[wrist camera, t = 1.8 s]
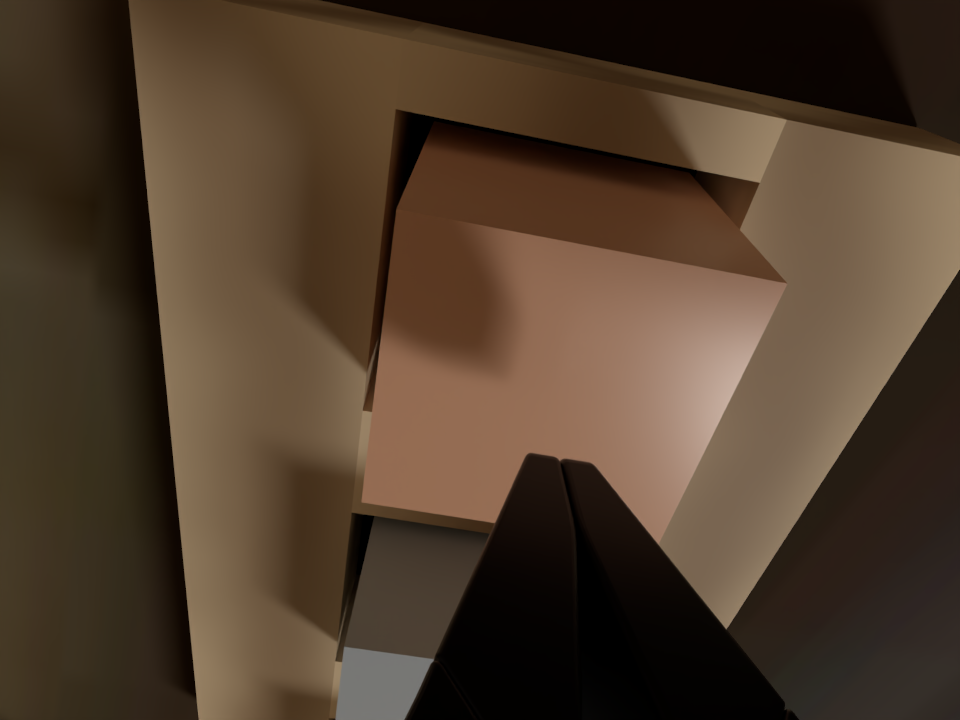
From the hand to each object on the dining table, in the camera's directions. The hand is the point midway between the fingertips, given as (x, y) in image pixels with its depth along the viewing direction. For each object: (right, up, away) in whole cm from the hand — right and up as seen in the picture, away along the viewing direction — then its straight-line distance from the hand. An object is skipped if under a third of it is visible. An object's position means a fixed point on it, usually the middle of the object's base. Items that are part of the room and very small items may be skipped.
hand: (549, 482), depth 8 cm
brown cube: (0, +3, +5) cm, 6 cm away
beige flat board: (-1, -3, +11) cm, 12 cm away
